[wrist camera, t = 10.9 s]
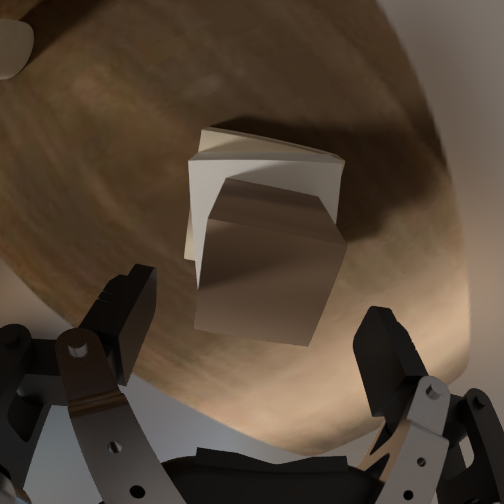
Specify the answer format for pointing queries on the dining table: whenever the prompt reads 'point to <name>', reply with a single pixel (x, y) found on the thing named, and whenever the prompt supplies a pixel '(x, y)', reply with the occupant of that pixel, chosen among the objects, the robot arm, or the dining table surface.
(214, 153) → the slab upper
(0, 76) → the candle
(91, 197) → the dining table surface
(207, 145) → the slab lower
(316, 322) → the walnut block
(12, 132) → the dining table surface
